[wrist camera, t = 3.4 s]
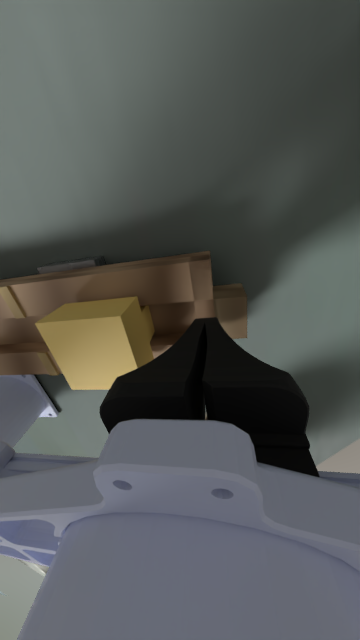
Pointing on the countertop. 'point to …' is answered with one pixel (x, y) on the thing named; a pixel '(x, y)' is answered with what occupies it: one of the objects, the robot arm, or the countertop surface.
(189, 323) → the brown wooden tray
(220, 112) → the countertop surface
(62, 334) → the block
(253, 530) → the robot arm
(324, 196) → the countertop surface
